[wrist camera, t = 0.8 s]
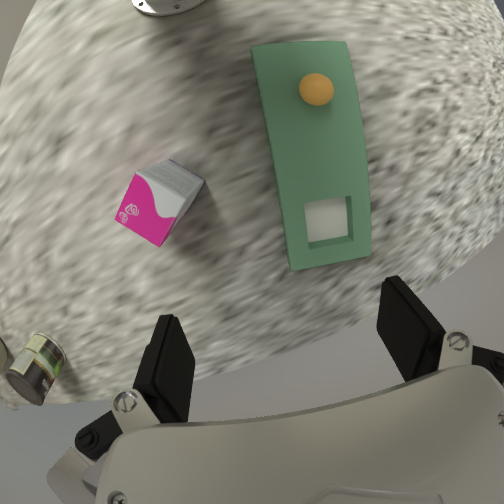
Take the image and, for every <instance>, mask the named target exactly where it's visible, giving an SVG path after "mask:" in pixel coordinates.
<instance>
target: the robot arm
mask: <svg viewBox="0 0 504 504" xmlns="http://www.w3.org/2000/svg"><path fill="white" fill-rule="evenodd" d="M131 1H132V3H133V4H134V6H135V7H136V8H137V9H138V10H140V11H141V12H143V13H146V14H148V15H154V16H167V15H174V14H178V13H182V12H184V11H187V10H190V9H192V8H194V7H196V6H198V5H199V4H201V3H202V2H204V1H205V0H131ZM177 8H178V9H177ZM377 332H378V334H379V335H380V337H381V339H382V341H383V342H384V344H385V346H386V348H387V349H388V351H389V353H390V355H391V356H392V358H393V360H394V362H395V364H396V366H397V367H398V369H399V371H400V373H401V375H402V377H403V378H404V380H405V383H402V384H400V385H396V386H393V387H390V388H387V389H384V390H381V391H378V392H375V393H372V394H368V395H365V396H361V397H358V398H354V399H350V400H347V401H343V402H339V403H335V404H331V405H326V406H322V407H317V408H312V409H307V410H302V411H297V412H291V413H285V414H279V415H271V416H264V417H256V418H247V419H237V420H224V421H208V422H188V415H189V407H190V399H191V391H192V384H193V377H194V370H195V358H194V355H193V353H192V351H191V348H190V346H189V344H188V341H187V339H186V337H185V334H184V332H183V329H182V327H181V324H180V322H179V319H178V318H177V317H174V316H173V314H168V315H160V316H159V319H158V321H157V324H156V327H155V330H154V333H153V335H152V338H151V341H150V344H148V345H147V346H146V348H145V351H144V354H143V357H142V360H141V363H140V366H139V369H138V372H137V375H136V378H135V381H134V384H133V388H126V389H122V390H120V391H118V392H117V393H116V394H115V395H114V396H113V397H112V399H111V402H110V407H111V410H110V411H109V412H108V413H106V414H104V415H103V416H101V417H100V418H98V419H97V420H95V421H93V422H92V423H91V424H89V425H87V426H86V427H84V428H82V429H81V430H80V431H79V432H78V433H77V435H76V437H75V447H74V448H72V447H70V448H69V449H68V450H67V451H66V452H65V454H63V456H62V457H61V458H60V459H59V460H58V461H57V462H56V463H55V464H54V466H53V467H52V468H51V469H50V470H49V472H48V473H47V483H48V484H49V486H50V487H51V489H52V490H53V491H54V493H55V494H56V495H57V496H58V497H59V498H60V500H61V501H62V502H63V503H64V504H504V354H503V353H501V352H497V351H493V350H489V349H485V348H481V347H477V346H473V343H472V339H471V337H470V336H469V335H468V334H467V333H466V332H464V331H462V330H457V329H454V330H450V331H448V332H447V333H446V331H445V330H444V328H443V327H442V326H441V324H440V323H439V322H438V321H437V319H436V318H435V317H434V316H433V315H432V313H431V312H430V311H429V310H428V309H427V307H426V306H425V305H424V304H423V303H422V302H421V300H420V299H419V298H418V297H417V296H416V295H415V294H414V293H413V291H412V290H411V289H410V288H409V287H408V286H407V285H406V284H405V282H404V281H403V280H402V279H401V278H400V277H399V276H398V275H395V276H391V277H387V278H386V279H385V281H383V282H382V288H381V297H380V305H379V312H378V319H377Z"/></svg>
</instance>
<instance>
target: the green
mask: <svg viewBox="0 0 504 504" xmlns="http://www.w3.org/2000/svg"><path fill="white" fill-rule="evenodd" d="M251 55H252V60H253V64H254V69H255V74H256V78H257V83H258V88H259V93H260V98H261V103H262V108H263V113H264V118H265V123H266V128H267V134H268V139H269V144H270V150H271V155H272V161H273V167H274V173H275V178H276V184H277V190H278V196H279V203H280V209H281V215H282V222H283V228H284V235H285V242H286V248H287V255H288V262H289V266H290V269H291V271H297V270H302V269H307V268H312V267H317V266H322V265H327V264H332V263H337V262H342V261H347V260H351V259H356V258H361V257H366V256H370V255H371V211H370V191H369V177H368V165H367V155H366V146H365V138H364V130H363V123H362V116H361V110H360V104H359V99H358V93H357V88H356V83H355V78H354V73H353V69H352V65H351V60H350V56H349V52H348V48H347V44H346V42H344V41H305V42H287V43H275V44H265V45H257V46H251ZM312 73H319V74H322V75H324V76H326V77H327V78H329V80H330V81H331V82H332V84H333V87H334V95H333V97H332V99H331V100H330V101H329V102H328V103H326V104H324V105H321V106H314V105H311V104H308V103H307V102H305V101H304V100H303V99H302V97H301V96H300V93H299V84H300V81H301V80H302V79H303V77H305V76H306V75H308V74H312Z"/></svg>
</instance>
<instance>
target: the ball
mask: <svg viewBox="0 0 504 504" xmlns="http://www.w3.org/2000/svg"><path fill="white" fill-rule="evenodd" d="M299 93H300V96H301V97H302V99H303V100H304V101H305V102H307V103H308V104H311V105H314V106H321V105H324V104H326V103H328V102H329V101H330V100H331V99H332V97H333V95H334V87H333V84H332V82H331V81H330V80H329V78H327V77H326V76H324V75H322V74H319V73H312V74H308V75H306V76H305V77H303V79H302V80H301V81H300V84H299Z"/></svg>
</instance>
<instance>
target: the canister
mask: <svg viewBox="0 0 504 504" xmlns="http://www.w3.org/2000/svg"><path fill="white" fill-rule="evenodd" d="M6 361H7V351H6V348H5V346H4V344H3V343H2V341H1V340H0V374H1V372H2V370H3V368H4V366H5V364H6Z"/></svg>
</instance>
